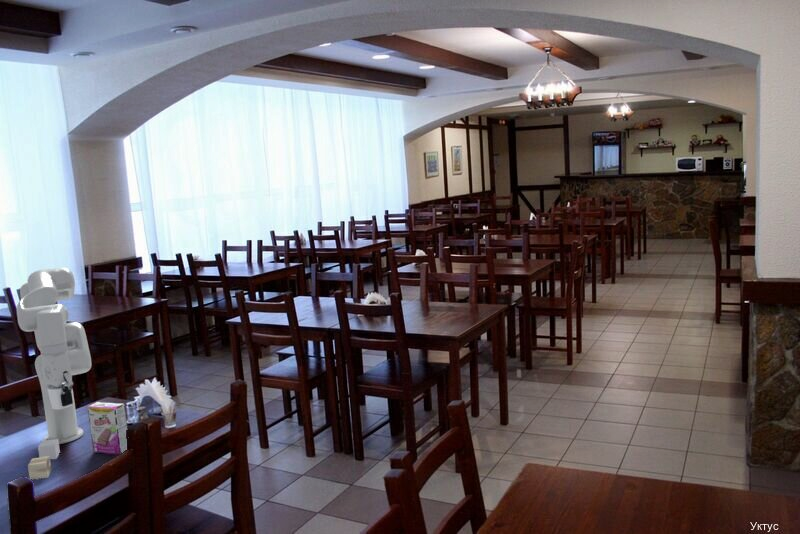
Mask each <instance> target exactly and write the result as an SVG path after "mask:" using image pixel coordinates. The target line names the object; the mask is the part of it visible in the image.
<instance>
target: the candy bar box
mask: <svg viewBox="0 0 800 534" xmlns="http://www.w3.org/2000/svg"><path fill="white" fill-rule="evenodd" d="M87 413H88V420H89V428H90V436H91V442H92V450H93V453H98V454H105V455H106V454H108V455H118V454H121V452H122V453H123V452H124V451H125V450H127V439H126V430H128V423H127V417H126V415H127V414H126V407H125V403H117V402H105V401H96V402H94V403H92V404H90V405H89V406H87ZM123 454H124V453H123ZM118 456H119V455H118Z"/></svg>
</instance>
